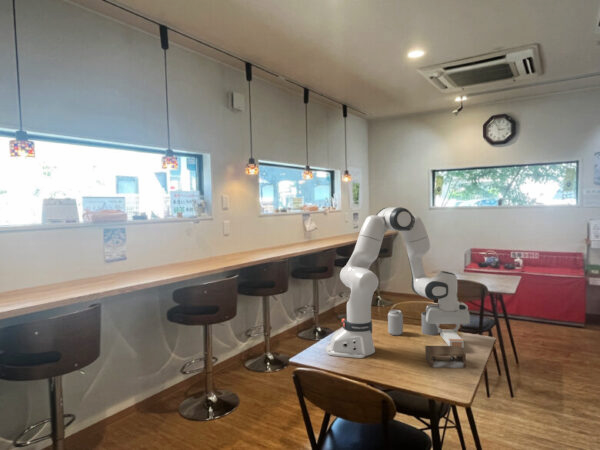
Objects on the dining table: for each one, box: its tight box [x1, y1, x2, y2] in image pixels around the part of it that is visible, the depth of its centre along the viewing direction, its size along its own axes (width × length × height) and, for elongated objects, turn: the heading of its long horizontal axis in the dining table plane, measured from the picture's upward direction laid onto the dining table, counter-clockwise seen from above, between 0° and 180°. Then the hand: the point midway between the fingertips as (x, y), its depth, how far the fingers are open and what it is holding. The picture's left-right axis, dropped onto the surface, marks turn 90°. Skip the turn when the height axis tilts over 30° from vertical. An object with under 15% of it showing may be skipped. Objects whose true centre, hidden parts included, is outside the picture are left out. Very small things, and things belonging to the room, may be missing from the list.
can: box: [387, 309, 404, 337], centre depth 198 cm, size 8×8×12 cm
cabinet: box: [424, 345, 467, 369], centre depth 160 cm, size 14×10×6 cm
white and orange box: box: [440, 329, 465, 348], centre depth 180 cm, size 6×16×3 cm, turn 174°
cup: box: [420, 311, 440, 336], centre depth 198 cm, size 8×8×10 cm
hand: (447, 332), depth 186 cm, fingers closed on white and orange box, 6 cm apart
